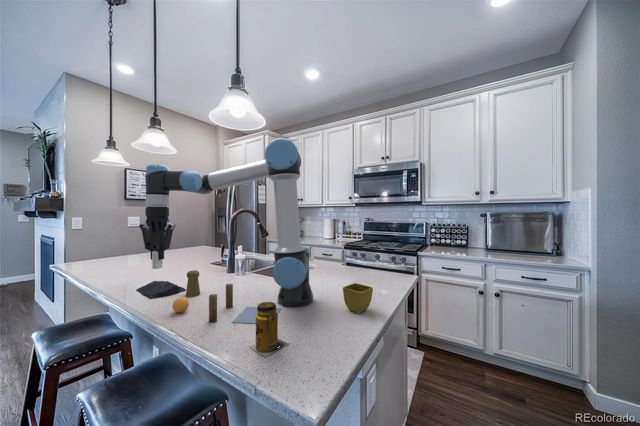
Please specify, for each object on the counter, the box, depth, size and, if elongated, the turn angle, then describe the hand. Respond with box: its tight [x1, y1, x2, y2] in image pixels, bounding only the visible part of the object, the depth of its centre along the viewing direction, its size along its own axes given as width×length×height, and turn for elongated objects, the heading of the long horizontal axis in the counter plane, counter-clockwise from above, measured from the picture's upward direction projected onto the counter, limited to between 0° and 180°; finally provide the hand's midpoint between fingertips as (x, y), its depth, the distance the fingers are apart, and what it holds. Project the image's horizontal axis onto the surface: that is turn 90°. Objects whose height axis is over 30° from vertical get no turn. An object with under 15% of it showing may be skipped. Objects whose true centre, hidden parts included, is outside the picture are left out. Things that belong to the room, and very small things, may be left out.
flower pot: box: [342, 282, 374, 314], centre depth 96 cm, size 9×9×9 cm
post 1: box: [208, 293, 218, 324], centre depth 85 cm, size 3×3×9 cm
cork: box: [185, 269, 201, 298], centre depth 112 cm, size 6×6×11 cm
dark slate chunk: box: [135, 280, 187, 300], centre depth 117 cm, size 15×22×5 cm
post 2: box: [225, 283, 234, 309], centre depth 98 cm, size 3×3×9 cm
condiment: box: [249, 301, 290, 358], centre depth 70 cm, size 7×8×12 cm
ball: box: [171, 296, 190, 314], centre depth 93 cm, size 6×6×6 cm
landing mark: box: [231, 306, 282, 325], centre depth 90 cm, size 14×14×1 cm
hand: (157, 268), depth 93 cm, fingers closed
